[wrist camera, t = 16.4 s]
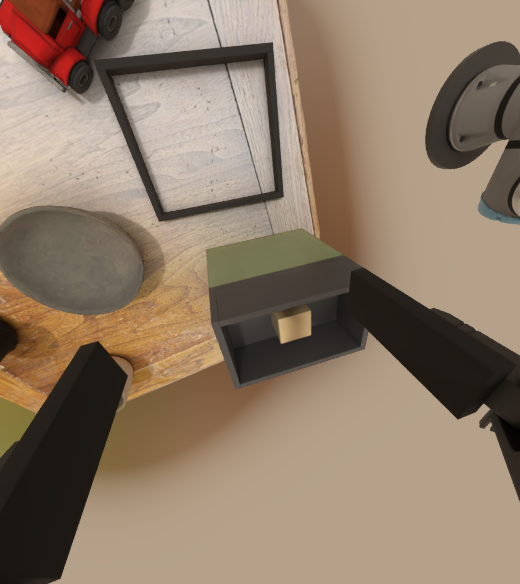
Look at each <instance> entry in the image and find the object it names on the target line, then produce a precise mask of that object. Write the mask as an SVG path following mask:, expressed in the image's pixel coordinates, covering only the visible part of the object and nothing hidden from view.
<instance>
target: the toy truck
mask: <svg viewBox="0 0 520 584" xmlns="http://www.w3.org/2000/svg"><path fill="white" fill-rule="evenodd" d="M115 1H116V2H117V3H118V4H119V5H120V7H121V8H122V9H123V10H127V9H128V8H129V7H130V6H131V5H132V3H133V2H134V0H115ZM83 21H84V23H82V22H83ZM121 21H122V12H121V9H120V8H119V6H118V5H117V4H116V3H115V2H114V1H113V0H2V1H1V3H0V25H1V28H2V30H3V33H4V34H5V35H7V36H8V37H9V38H11V42H10V41H9V42H8V44H7V45H8V46H9V47H10V48H11V49H13V50H14V51H15V52H16V53H17V54H19V55H20V56H21V57H22V58H23V59H24V60H26V61H27V62H28V63H29V64H30V65H32V66H33V67H34V68H35V69H36V70H37V71H39V72H40V73H41V74H42V75H43V76H44V77H46V78H47V79H48V80H49V81H50V82H52V83H53V84H54V85H55V86H56V87H57V88H59V89H60V90H61V91H62V92H64V93H65V92H66V90H67V89H66V88H65V87H63V86H62V85H61V84H60V83H59V82H58V81H56V80H57V79H58V80H59V81H60V82H62V83H63V84H65V85H66V86H67V87H68V86H70V87H71V88H72V89H73V90H74V91H76V92H77V93H79V94H81V93H84V92H85V91H86V90H87V89H88V87H89V86H90V84H91V82H92V78H93V70H92V68H91V67H90V66H89V65H88V64H87V63H86V62H85V61H84V60H86V59H87V58H88V56H89V54H90V52H91V50H92V48H93V46H94V44H95V42H96V40H97V38H98V31H99V32H100V33H101V34H102V35H103V36H104V38H105V39H107V40H111V39H113V38H114V37H115V35H116V34H117V32H118V30H119V28H120V25H121ZM97 30H98V31H97ZM42 68H43V69H42ZM44 69H45V70H46V71H48V72H50V75H49V74H48V73H47V72H46V71H45V70H44Z"/></svg>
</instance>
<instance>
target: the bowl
mask: <svg viewBox="0 0 520 584" xmlns="http://www.w3.org/2000/svg"><path fill="white" fill-rule="evenodd" d="M0 270H1V271H2V273H3V274H4V276H5V277H6V278H7V279H8V281H9V282H10V283H11V284H12V285H13V286H14V287H16V288H17V289H18V290H20V291H21V292H22V293H24V294H25V295H27V296H28V297H30V298H32V299H34V300H35V301H37V302H39V303H41V304H43V305H46V306H48V307H51V308H53V309H56V310H60V311H63V312H68V313H73V314H79V315H99V314H106V313H111V312H114V311H117V310H119V309H121V308H123V307H125V306H126V305H128V304H129V303H130V302H131V301H132V300H133V299H134V298H135V297H136V295H137V294H138V292H139V290H140V288H141V285H142V282H143V278H144V263H143V257H142V254H141V252H140V250H139V248H138V246H137V245H136V243H135V242H134V240H133V239H132V238H131V237H130V236H129V235H128V234H127V233H126V232H125V231H124V230H123V229H121V228H120V227H119V226H117V225H116V224H114V223H112V222H111V221H109V220H107V219H105V218H103V217H101V216H99V215H97V214H94V213H91V212H88V211H85V210H81V209H77V208H71V207H63V206H36V207H31V208H27V209H24V210H21V211H18V212H16V213H14V214H13V215H11V216H10V217H8V218H7V219H6V220H5V221H4V222H3V223H2V224H1V226H0Z"/></svg>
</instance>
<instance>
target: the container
mask: <svg viewBox="0 0 520 584" xmlns="http://www.w3.org/2000/svg"><path fill="white" fill-rule="evenodd" d="M17 343H18V340H17V335H16V333H15V332H14V330H13V329H12V328H10V327H9V326H8V325H7V324H5V323H3V322H1V321H0V362H1V361H2V359H3V358H4V357H5V356H6V355H7V354H8V353H9V352H11V351H12V350H14V349H15V347H16V345H17Z"/></svg>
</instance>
